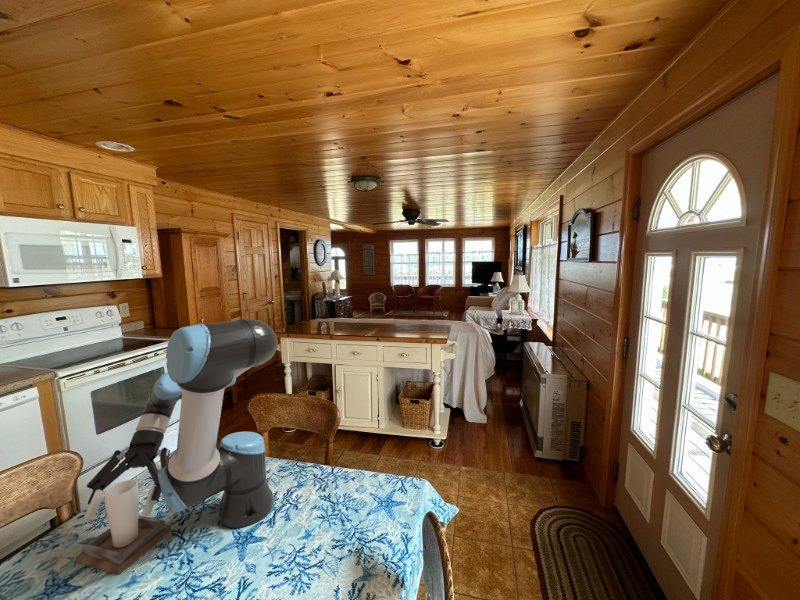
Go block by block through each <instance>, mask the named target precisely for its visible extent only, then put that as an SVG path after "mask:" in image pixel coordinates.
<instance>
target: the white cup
mask: <svg viewBox="0 0 800 600" xmlns="http://www.w3.org/2000/svg"><path fill="white" fill-rule="evenodd" d="M104 491H105V494H104V508H105V513H106V517H107V522H108V526H109V528H110V531H111V536H112V544H113V546H114V547H116V548H121V547H125V546H127V545H129V544H131V543H132V542H134V541H135V540H136V539H137V537H138V534H139V532H138V515H140V514H139V510H140V509H139V508H140V493H139V492H140V491H139V483H138V480H135V479H128V480H127V479H126V480H122V481H120V482H119V481H118V482H117V483H115V484H113V485H111V486H110V487H108V488H107V489H106V490H104Z"/></svg>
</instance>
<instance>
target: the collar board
mask: <svg viewBox="0 0 800 600" xmlns="http://www.w3.org/2000/svg"><path fill="white" fill-rule="evenodd" d="M172 529H173V527H172V525H171V524H168V523H166V520H164V519H160V518H159V519H158V518H156V517H151V516H144V515H142V514H139V515H138V532H139V534H138V537H137V539H136V540H135V541H134V542H132V543H131V544H129V545H127V546H125V547H121V548H116V547H114V546H113V544H112V536H111V531H110V527H109V528H108V529H106V530H105V531H103V532H102V533H100V534H98V536H97V537H95V538H94V539H92V540H90V541H89V542H88V543H86V544H85V545H83V546H82V552H81V553H80V554H78V555H76V556H75V562H76V563H77V564H80V565H84V566H87V567H90V568H91V567H92V568H94V569H97V570H101V571H103V572H104V571H105V572H108V573H112V574H115V575H120V574H122V573H123V572H124V571H125V570H126V569H128V568H129V567H130V566H131V565H133V563H135V562H136V561H137V560H138V559H139V558H140V557H142V556H143V555H144V554H146V553H147V552H148V551H149V550H150V549H152V548H153V547H154V546H155V545H157V543H158V542H159V541H160V540H162V539H163V538H164V537H166V536H167V535H168V534H169V533H170V532H172Z"/></svg>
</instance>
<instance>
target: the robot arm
mask: <svg viewBox="0 0 800 600" xmlns="http://www.w3.org/2000/svg"><path fill="white" fill-rule="evenodd" d="M278 344H279V342H278V336H277V335H276V332H275V331H274V329H273V328H272V327H271V326H270V325H269V324H267V323H265V322H264V321H262V320H258V319H255V318H254V319H252V318H242V319H237V320H236V319H235V320H227V321H220V322H213V323H204V324H203V323H196V324H193V325H188V326H183V327H180V328H178V329H176V330H174V332H173V333H172V334H171V336H170V338H169V340H168V343H167V346H166V353H165V356H166V357H165V359H166V370H167V372H165V373H163V374H162V375H161V376H159V378H158V379H157V380H156V382H155V383H154V385H153V387H152V389H151V391H150V393H149V397H148V399H147V402H146V403H145V407H144V410H143V412H142V414H141V416H140V419H139V421H138V423H137V425H136V428H135V432H134V433H133V434H132V438H131V440H130V442H129V447H128V449H127V450H126V451H121V450H119V449H117V450H115V451H114V452H113V454H112V456H111V457H110V459H109V460H108V461H107V462H106V464H105V465H104V466H103V467H101V469H100V470H99V471H98V472H97V473H96V475H94V476H93V478H92V479H91V480H90V481H89V482H88V483H87V484H86V488H88V489H91V490H92V492H91V494H90V497H89V499H88V501H87V505H89V506H88V507H87V510H86V512H85V514H84V516H83V520H84V521H92V522H93V521H94V520H95V517H96V515H97V514H98V510H99V509H100V506H101V503H102V501H103V499H104V498H105V491H106V490H105V489H106V488H107V487H108V486H110V485H111V484H112V483H113V482H114V481H115V480H116V479H118V478H119V477H120V476H122V475H123V473H125V472H126V471H128V470H130V469H131V468H132V469H137V468H145V467H146V468H147V469H148V473H149V474H150V476H151V478H152V480H153V482H154V483H153V484H154V485H151V487H150V490H149V493H148V495H147V498H146V501H145V502H144V507H143V509H142V513H141V515H142V516H146V517H151V514H152V511H153V508H154V504H155V503H156V501H159V499H160V497H161V494H162V498H163V500H164V502H165V504H166V507H167V509H168V511H169V512H170V513H172V514H177V513H179V512H182V511H184V510H189V509H190V508H191V507H193V506H196V505H198V504H199V503H201V502H203V501H206V500H207V499H209V498H212V497H214V496H215V495H218V494H219V493H221V492H223V493H222V496H221V500H220V503H219V507H218V521H219V523H220V524H221V525H222V526H224V527H225V528H231V529H239V528H244V527H248V526H252V525H253V524H256V523H258V522H259V521H261V520H262V519H263V518H265V517H267V515H268V514H270V512H271V510H272V509H273V507H274V494H273V492H272V489H271V488H270V485H269V483H268V480H267V469H266V467H267V466H266V447H265V440H264V437H263V436H262V435H261V434H259V433H257V432H254V431H237V432H233V433H230V434H227V435H225V436H224V437H223V438H221V441H220V443H219V444H220V445H219V446H218V447H217V441H218V440H217V439H218V434H219V428H220V421H221V415H222V407H223V400H224V394H225V389H226V388H228V387H232V386H233V385H235V383H236V381H237V378H238V377H239V376H241V375H242V374H243V373H245V372H246V371H248V370H250V369H251V368H253V367H254V368H255V367H261V366H262V365H264V364H265V363H266V362H269V360H271V359H272V358H273V357H274V355H275V354H276V352H277V350H278ZM180 400H181V401H180ZM179 401H180V402H181V403H180V409H179V410H180V414H179V423H178V433H177V445H176V451H175V452H174V453H173V454H172V455H171V457H170V454H171V450H170V449H168V447H162V448H161V449H160V447H161V446H162V443H163V441H164V437H165V435H164V434H165V433H166V432H167V429H168V426H169V424H170V420H171V417H172V416H173V415H172V414H173V412H174V409H175V407H176V405H177V403H178V402H179ZM157 457H159V459H160V467H161V469H160V470H158V468H157V467H158V466H157V465H156V462H155V459H156V458H157Z"/></svg>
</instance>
